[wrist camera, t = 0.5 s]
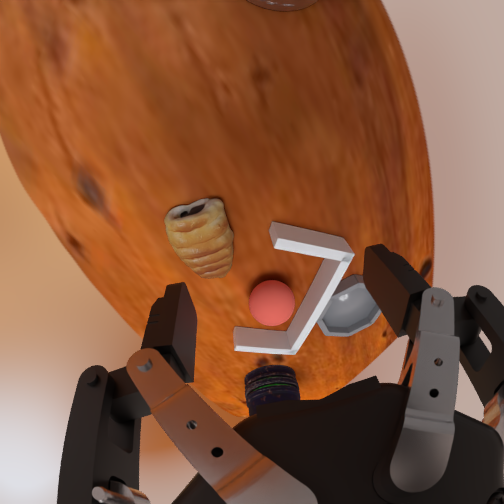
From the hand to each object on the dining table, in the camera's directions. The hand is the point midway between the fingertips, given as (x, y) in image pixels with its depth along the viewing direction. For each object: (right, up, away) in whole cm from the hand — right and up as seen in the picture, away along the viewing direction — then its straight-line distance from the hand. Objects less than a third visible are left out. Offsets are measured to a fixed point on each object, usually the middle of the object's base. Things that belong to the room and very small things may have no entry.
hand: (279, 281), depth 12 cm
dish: (+13, -6, +26) cm, 30 cm away
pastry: (-6, +4, +18) cm, 20 cm away
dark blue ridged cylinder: (+2, -22, +36) cm, 43 cm away
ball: (+1, -3, +23) cm, 23 cm away
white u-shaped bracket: (+3, -4, +23) cm, 24 cm away
